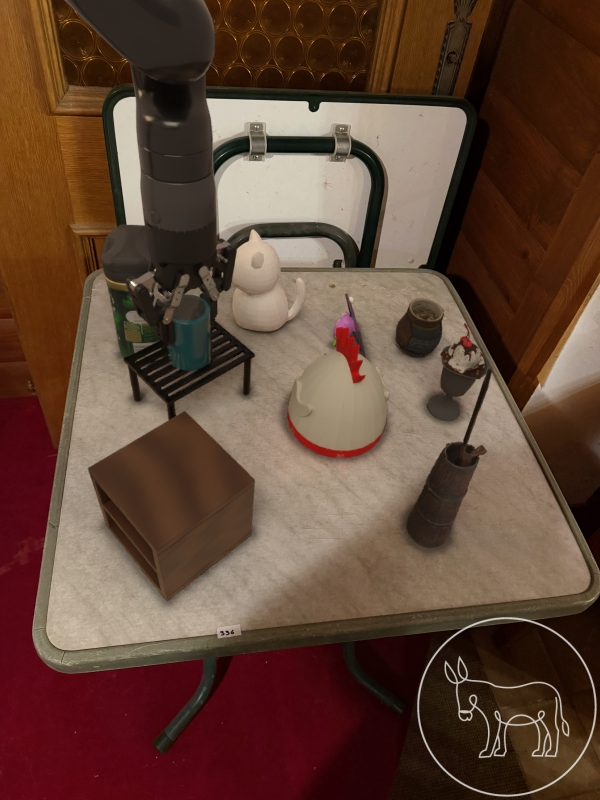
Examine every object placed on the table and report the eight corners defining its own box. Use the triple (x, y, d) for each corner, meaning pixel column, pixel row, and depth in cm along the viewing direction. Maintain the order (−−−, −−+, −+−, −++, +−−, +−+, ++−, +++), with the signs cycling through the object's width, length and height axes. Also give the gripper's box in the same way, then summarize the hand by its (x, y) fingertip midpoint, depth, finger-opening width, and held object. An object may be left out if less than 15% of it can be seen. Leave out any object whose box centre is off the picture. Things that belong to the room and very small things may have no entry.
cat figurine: (225, 302, 94) (225, 223, 83) (299, 303, 96) (308, 225, 85) (226, 339, 88) (226, 258, 77) (304, 339, 90) (316, 260, 79)
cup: (185, 377, 71) (181, 330, 65) (159, 353, 74) (153, 305, 68) (220, 358, 74) (219, 311, 68) (194, 335, 77) (191, 288, 71)
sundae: (426, 386, 86) (456, 310, 75) (469, 400, 85) (506, 325, 74) (416, 415, 82) (446, 339, 70) (461, 431, 81) (499, 357, 69)
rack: (173, 442, 74) (168, 403, 68) (130, 398, 78) (122, 358, 73) (253, 393, 81) (255, 353, 75) (210, 355, 86) (209, 315, 80)
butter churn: (462, 494, 73) (557, 335, 52) (478, 563, 67) (592, 413, 46) (393, 491, 73) (461, 328, 52) (402, 560, 66) (484, 406, 45)
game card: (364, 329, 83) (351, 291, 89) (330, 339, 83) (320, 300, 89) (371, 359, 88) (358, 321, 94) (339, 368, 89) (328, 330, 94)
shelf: (166, 601, 60) (156, 550, 51) (106, 526, 65) (87, 467, 56) (251, 535, 67) (255, 479, 58) (189, 470, 72) (184, 410, 63)
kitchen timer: (361, 376, 86) (381, 298, 75) (399, 446, 78) (428, 370, 66) (274, 391, 82) (282, 312, 71) (305, 467, 74) (319, 390, 63)
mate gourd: (432, 334, 94) (450, 286, 87) (439, 366, 89) (458, 317, 82) (390, 330, 94) (404, 281, 86) (394, 362, 89) (410, 313, 81)
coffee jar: (123, 322, 89) (104, 216, 75) (174, 323, 90) (165, 219, 76) (115, 366, 82) (93, 259, 68) (171, 366, 83) (159, 261, 69)
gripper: (212, 174, 63) (214, 294, 76) (98, 213, 56) (121, 338, 69) (256, 203, 60) (250, 323, 73) (141, 248, 53) (157, 372, 65)
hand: (188, 330), depth 71 cm, fingers closed on cup, 5 cm apart
